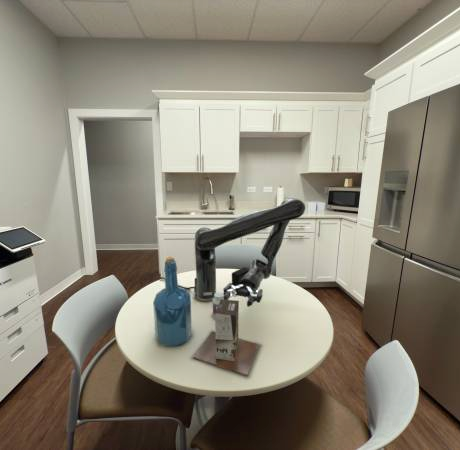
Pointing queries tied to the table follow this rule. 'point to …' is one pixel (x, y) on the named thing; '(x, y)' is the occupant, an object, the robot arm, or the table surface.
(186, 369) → the table surface
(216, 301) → the pill bottle
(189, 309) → the wine bottle
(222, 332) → the coffee box
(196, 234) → the robot arm
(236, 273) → the digital camera
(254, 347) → the wooden board
